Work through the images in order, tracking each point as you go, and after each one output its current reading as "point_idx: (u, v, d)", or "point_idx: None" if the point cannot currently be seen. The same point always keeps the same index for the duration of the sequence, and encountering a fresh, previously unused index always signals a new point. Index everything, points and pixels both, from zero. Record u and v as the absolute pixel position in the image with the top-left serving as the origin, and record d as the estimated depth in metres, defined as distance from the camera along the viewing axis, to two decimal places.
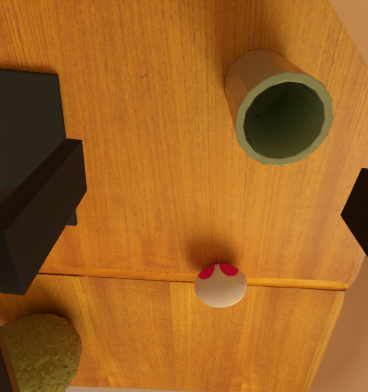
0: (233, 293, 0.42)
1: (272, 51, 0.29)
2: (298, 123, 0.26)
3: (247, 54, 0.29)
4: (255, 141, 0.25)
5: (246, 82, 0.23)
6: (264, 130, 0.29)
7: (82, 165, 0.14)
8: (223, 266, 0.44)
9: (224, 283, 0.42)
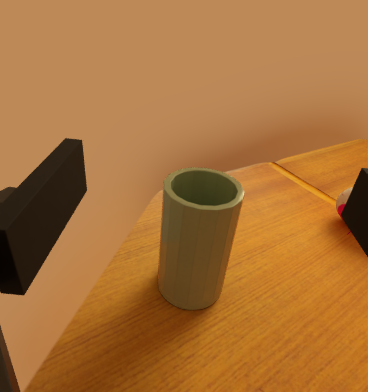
0: None
1: (159, 279, 0.31)
2: None
3: (173, 294, 0.29)
4: None
5: (195, 232, 0.24)
6: None
7: (82, 165, 0.14)
8: None
9: None
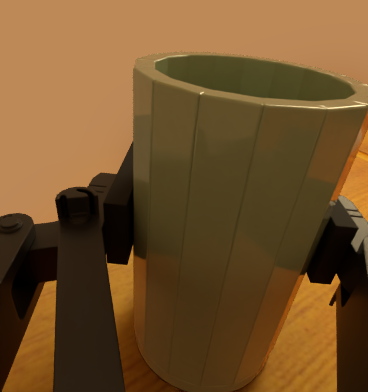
0: None
1: (134, 321, 0.14)
2: None
3: (166, 362, 0.12)
4: None
5: (236, 199, 0.07)
6: None
7: None
8: None
9: None
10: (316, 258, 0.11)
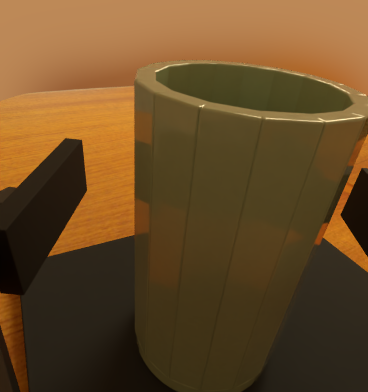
0: None
1: (136, 325, 0.14)
2: None
3: (167, 367, 0.12)
4: None
5: (235, 209, 0.07)
6: None
7: (82, 165, 0.14)
8: None
9: None
10: None
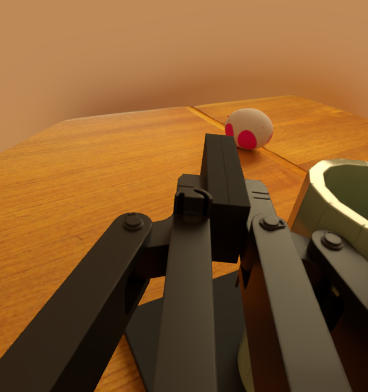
0: (238, 110, 0.45)
1: (250, 374, 0.16)
2: None
3: None
4: None
5: None
6: None
7: None
8: None
9: (237, 118, 0.44)
10: None
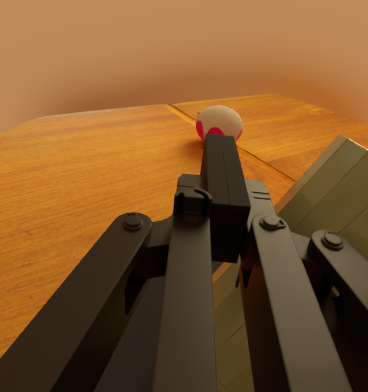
0: (208, 108, 0.45)
1: None
2: None
3: (233, 376, 0.13)
4: None
5: None
6: None
7: None
8: (201, 133, 0.45)
9: (206, 115, 0.44)
10: None
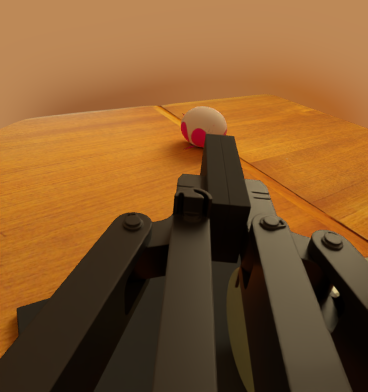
0: (192, 109, 0.45)
1: None
2: None
3: None
4: None
5: None
6: None
7: None
8: (185, 135, 0.45)
9: (190, 117, 0.44)
10: None
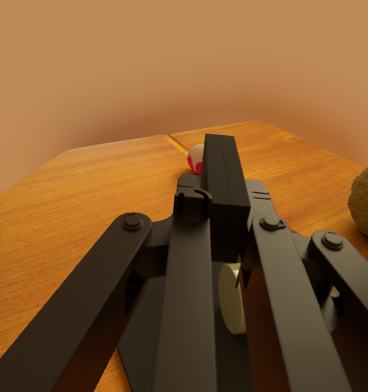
0: (196, 146, 0.60)
1: None
2: None
3: None
4: None
5: None
6: None
7: None
8: (191, 165, 0.60)
9: (195, 153, 0.59)
10: None
